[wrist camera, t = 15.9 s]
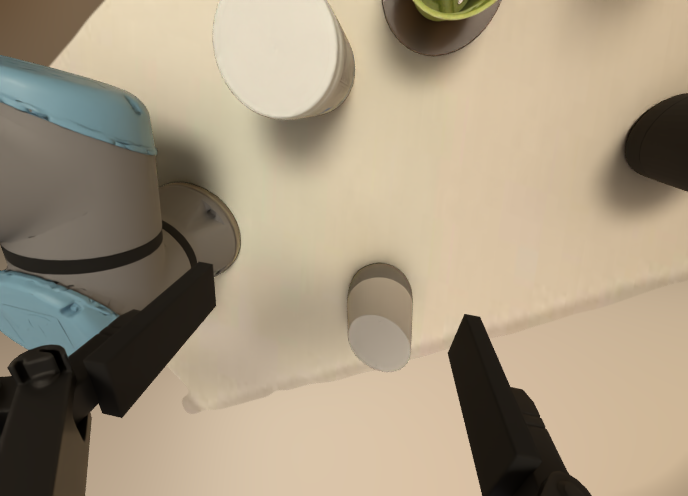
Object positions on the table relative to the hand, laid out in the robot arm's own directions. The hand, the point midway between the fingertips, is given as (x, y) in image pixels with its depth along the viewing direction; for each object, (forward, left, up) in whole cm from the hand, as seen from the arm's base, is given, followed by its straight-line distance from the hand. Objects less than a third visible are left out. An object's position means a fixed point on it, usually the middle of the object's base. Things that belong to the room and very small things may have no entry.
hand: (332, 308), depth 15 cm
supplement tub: (-8, +12, -27) cm, 31 cm away
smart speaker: (+5, -15, -27) cm, 31 cm away
